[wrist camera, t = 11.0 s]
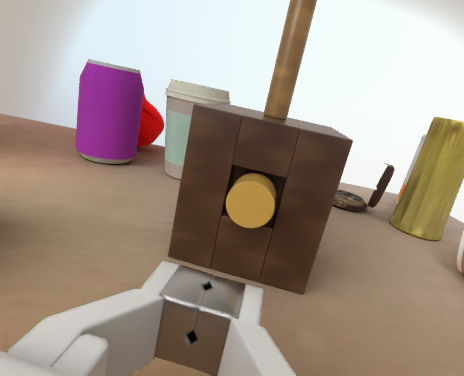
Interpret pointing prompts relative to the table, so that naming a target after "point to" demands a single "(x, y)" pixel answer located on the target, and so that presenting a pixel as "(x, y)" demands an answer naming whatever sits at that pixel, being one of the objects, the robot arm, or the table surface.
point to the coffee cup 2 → (461, 255)
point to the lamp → (268, 164)
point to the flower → (149, 124)
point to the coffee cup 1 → (184, 119)
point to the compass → (356, 202)
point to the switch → (251, 200)
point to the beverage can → (108, 112)
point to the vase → (433, 182)
